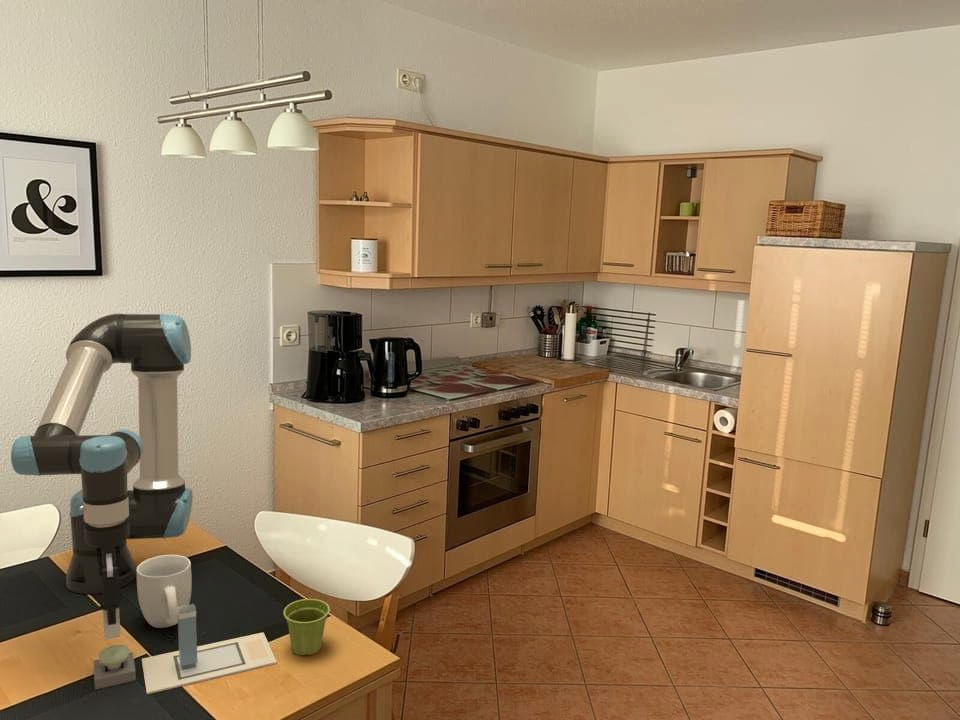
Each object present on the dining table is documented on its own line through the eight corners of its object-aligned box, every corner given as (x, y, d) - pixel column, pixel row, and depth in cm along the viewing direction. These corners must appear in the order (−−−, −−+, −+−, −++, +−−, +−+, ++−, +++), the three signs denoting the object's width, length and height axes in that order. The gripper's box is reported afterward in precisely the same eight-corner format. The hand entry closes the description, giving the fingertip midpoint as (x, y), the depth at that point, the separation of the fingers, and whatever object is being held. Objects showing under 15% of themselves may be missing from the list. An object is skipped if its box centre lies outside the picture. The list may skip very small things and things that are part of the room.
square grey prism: (179, 662, 149) (177, 607, 146) (195, 658, 150) (193, 603, 148) (181, 671, 146) (179, 614, 144) (197, 667, 147) (196, 611, 145)
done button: (99, 665, 145) (98, 648, 145) (128, 659, 148) (127, 642, 147) (99, 680, 141) (98, 662, 140) (130, 673, 143) (129, 656, 143)
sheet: (141, 660, 149) (141, 658, 149) (263, 633, 161) (263, 632, 161) (146, 694, 139) (146, 692, 139) (276, 663, 150) (276, 661, 150)
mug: (202, 634, 160) (200, 577, 157) (146, 648, 154) (144, 589, 151) (186, 603, 172) (184, 550, 169) (134, 615, 166) (132, 560, 163)
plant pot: (339, 644, 158) (339, 607, 156) (307, 666, 150) (307, 627, 148) (306, 631, 163) (305, 594, 161) (274, 651, 154) (273, 613, 153)
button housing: (94, 669, 146) (93, 660, 145) (133, 661, 149) (132, 651, 149) (94, 689, 140) (94, 680, 139) (135, 680, 143) (135, 670, 143)
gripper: (83, 510, 143) (89, 624, 147) (84, 536, 131) (90, 658, 135) (126, 505, 146) (131, 616, 150) (131, 529, 135) (136, 649, 139)
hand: (112, 636), depth 143 cm, fingers closed
